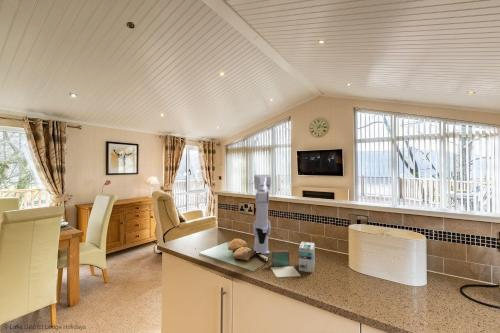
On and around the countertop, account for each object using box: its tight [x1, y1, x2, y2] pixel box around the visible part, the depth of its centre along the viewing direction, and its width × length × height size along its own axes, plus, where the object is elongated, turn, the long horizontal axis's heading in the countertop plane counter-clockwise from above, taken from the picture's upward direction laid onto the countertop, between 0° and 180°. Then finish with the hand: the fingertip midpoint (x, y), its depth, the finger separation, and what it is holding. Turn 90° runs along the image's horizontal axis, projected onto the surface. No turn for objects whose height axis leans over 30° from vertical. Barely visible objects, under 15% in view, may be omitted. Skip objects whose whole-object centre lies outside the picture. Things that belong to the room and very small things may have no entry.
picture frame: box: [271, 249, 290, 267], centre depth 117 cm, size 3×8×7 cm, turn 100°
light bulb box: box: [298, 241, 316, 273], centre depth 115 cm, size 11×7×11 cm, turn 161°
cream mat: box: [270, 265, 301, 278], centre depth 110 cm, size 10×11×1 cm
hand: (261, 243), depth 118 cm, fingers closed
